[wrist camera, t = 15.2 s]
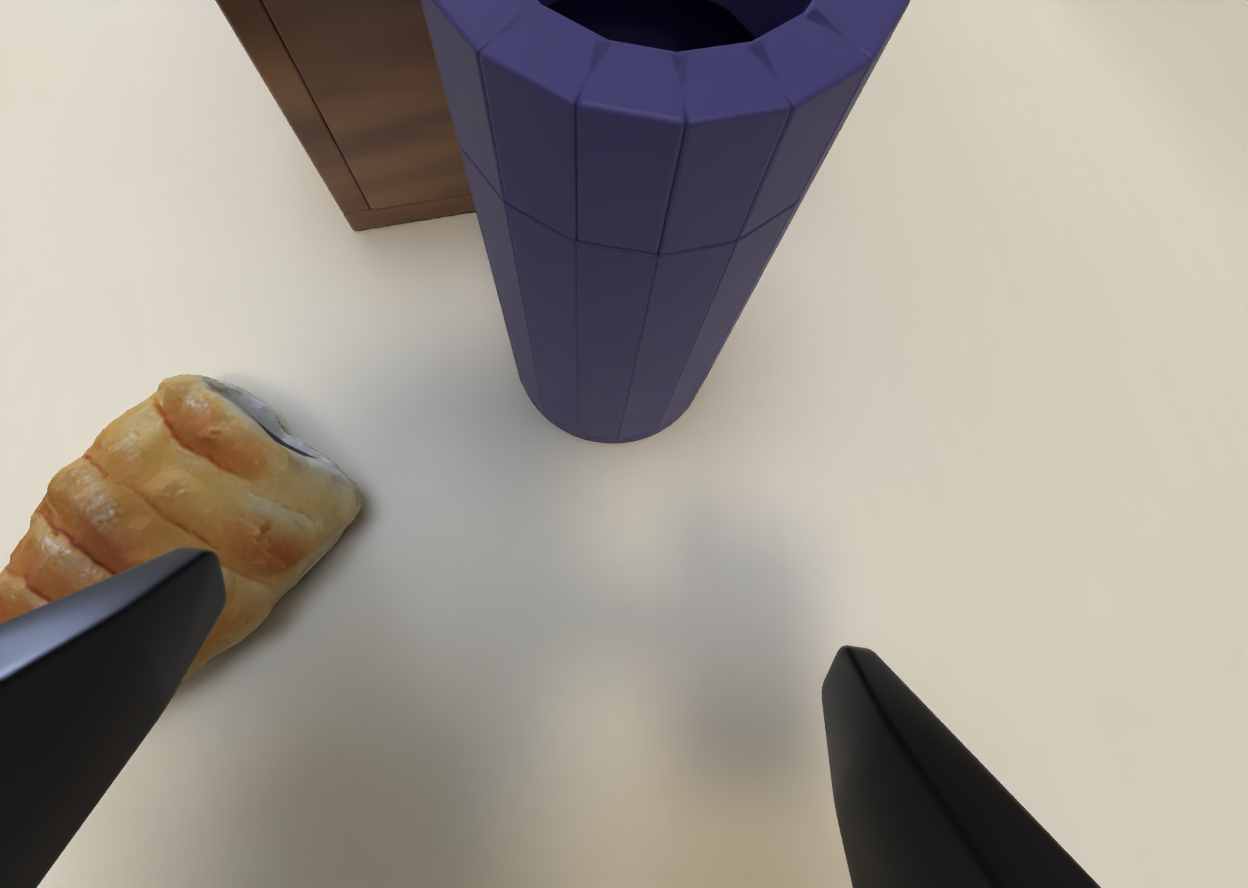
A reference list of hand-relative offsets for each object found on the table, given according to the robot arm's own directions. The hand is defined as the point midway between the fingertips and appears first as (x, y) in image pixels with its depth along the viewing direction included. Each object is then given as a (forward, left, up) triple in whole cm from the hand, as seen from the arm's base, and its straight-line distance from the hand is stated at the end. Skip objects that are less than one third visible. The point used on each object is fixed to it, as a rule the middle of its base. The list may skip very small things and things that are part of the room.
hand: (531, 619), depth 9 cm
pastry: (+4, +9, -9) cm, 14 cm away
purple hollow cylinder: (+8, -3, -9) cm, 12 cm away
